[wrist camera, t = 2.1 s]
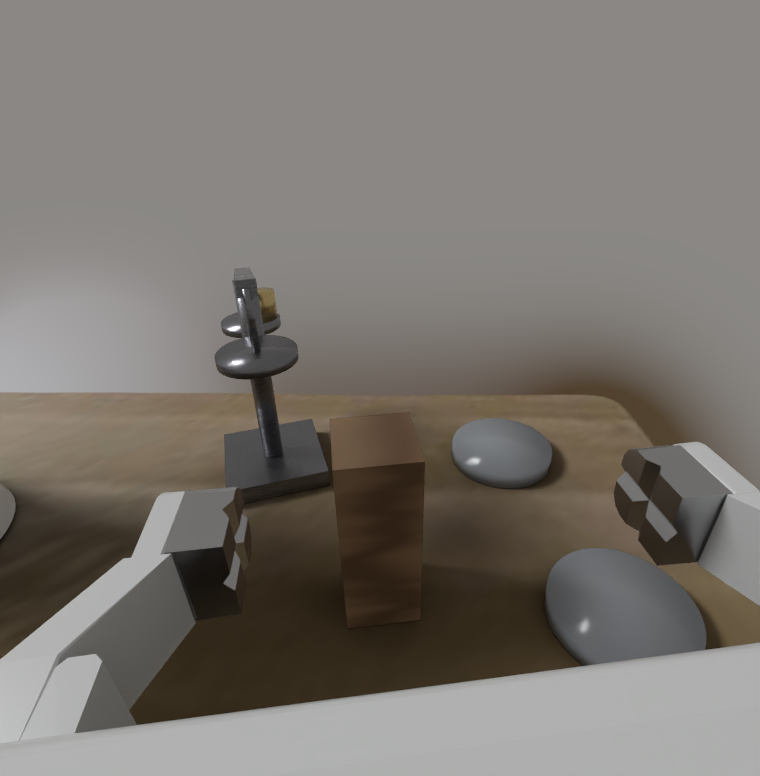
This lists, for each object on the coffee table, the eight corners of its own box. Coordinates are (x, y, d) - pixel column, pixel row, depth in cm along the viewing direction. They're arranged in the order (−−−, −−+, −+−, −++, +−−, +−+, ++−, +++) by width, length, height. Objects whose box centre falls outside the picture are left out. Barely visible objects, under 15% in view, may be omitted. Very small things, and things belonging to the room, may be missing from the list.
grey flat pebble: (478, 498, 38) (479, 486, 37) (437, 438, 45) (437, 427, 44) (570, 476, 40) (573, 464, 39) (517, 422, 47) (518, 411, 46)
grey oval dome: (606, 713, 24) (611, 700, 24) (517, 579, 31) (520, 566, 31) (737, 663, 26) (744, 650, 26) (626, 547, 33) (630, 535, 33)
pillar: (347, 628, 28) (332, 470, 23) (343, 568, 32) (329, 419, 26) (420, 619, 29) (424, 461, 23) (408, 561, 33) (409, 412, 27)
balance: (231, 553, 34) (166, 302, 24) (226, 420, 48) (184, 232, 39) (343, 527, 35) (321, 285, 26) (305, 406, 50) (283, 224, 41)
